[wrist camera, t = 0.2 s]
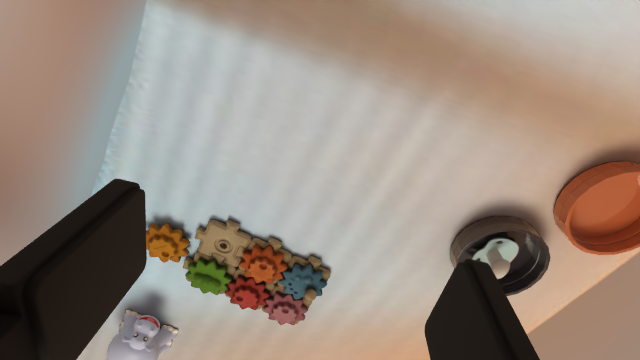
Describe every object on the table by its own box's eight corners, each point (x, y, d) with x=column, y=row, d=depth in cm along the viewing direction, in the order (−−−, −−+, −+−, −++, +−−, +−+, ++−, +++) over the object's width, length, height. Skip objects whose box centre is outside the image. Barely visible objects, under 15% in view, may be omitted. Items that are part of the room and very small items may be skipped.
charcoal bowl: (470, 206, 51) (477, 219, 48) (554, 225, 51) (568, 240, 48) (437, 271, 57) (442, 287, 54) (513, 288, 57) (522, 304, 54)
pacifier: (526, 244, 53) (497, 226, 51) (547, 273, 47) (516, 254, 46) (490, 273, 56) (462, 257, 55) (506, 304, 50) (476, 287, 49)
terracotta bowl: (585, 150, 45) (602, 161, 42) (678, 172, 46) (702, 185, 43) (535, 228, 52) (547, 243, 49) (618, 247, 52) (635, 263, 49)
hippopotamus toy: (188, 313, 66) (164, 359, 58) (165, 355, 73) (141, 402, 64) (133, 290, 64) (101, 334, 56) (116, 335, 71) (84, 381, 63)
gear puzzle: (136, 257, 60) (123, 273, 57) (158, 186, 53) (145, 200, 50) (297, 322, 65) (294, 342, 61) (338, 266, 58) (337, 283, 54)
